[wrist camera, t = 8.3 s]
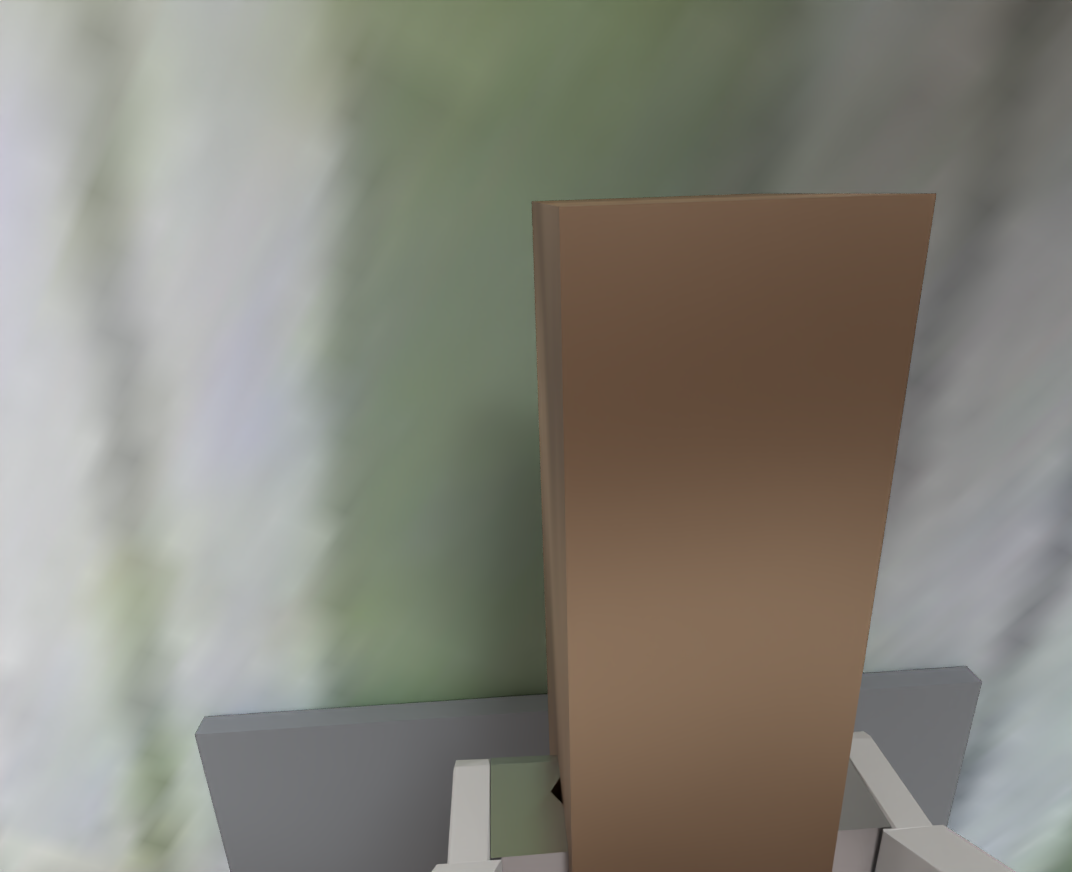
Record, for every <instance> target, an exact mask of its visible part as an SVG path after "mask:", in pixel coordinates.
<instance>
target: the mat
mask: <svg viewBox="0 0 1072 872" xmlns="http://www.w3.org/2000/svg"><path fill="white" fill-rule="evenodd" d="M981 684H982V681H981V680H980V679H979V678H978V677H977V676H976V675H975V674H974V673H973V672H972V671H971V670H970V669H969V668H968V667H967V666H965V667H950V668H934V669H919V670H904V671H889V672H874V673H862V680H861V686H860V693H859V699H858V706H857V712H856V719H855V725H854V732H860V731H864V732H865V733H867V734H868V735H870V736H871V737H872V739H873V740H874V742H875V743H876V745H877V746H878V748H879V749H880V750H881V752H882V753H883V755H884V756H885V758H886V759H887V760H888V762H889V763H890V765H891V766H892V768H893V769H894V770H895V772H896V773H897V775H898V776H899V778H900V779H901V781H902V782H903V783H904V785H905V786H906V788H907V789H908V791H909V792H910V793H911V795H912V796H913V798H914V799H915V801H916V802H917V803H918V805H919V806H920V808H921V809H922V811H923V812H924V814H925V815H926V816H927V818H928V819H929V821H930V822H931V824H932V825H944V826H946V827H947V823H948V819H949V815H950V811H951V807H952V803H953V799H954V795H955V790H956V786H957V782H958V778H959V774H960V770H961V766H962V762H963V758H964V754H965V749H966V745H967V741H968V737H969V733H970V729H971V725H972V721H973V717H974V713H975V708H976V704H977V700H978V696H979V692H980V688H981ZM195 737H196V741H197V745H198V749H199V753H200V757H201V760H202V764H203V768H204V772H205V776H206V780H207V783H208V787H209V791H210V795H211V799H212V803H213V806H214V810H215V814H216V818H217V822H218V826H219V830H220V833H221V837H222V841H223V845H224V849H225V853H226V856H227V860H228V864H229V868H230V872H432V870H433V869H434V867H435V866H436V865H437V864H447V861H448V845H449V830H450V815H451V800H452V785H453V770H454V766H455V763H456V760H471V759H490V760H491V758H499V757H521V756H543V755H550V748H549V717H548V694H541V695H526V696H511V697H496V698H480V699H465V700H450V701H435V702H420V703H405V704H390V705H374V706H359V707H344V708H329V709H314V710H299V711H284V712H268V713H253V714H238V715H223V716H208V717H204V718H203V720H202V722H201V724H200V726H199V728H198V730H197V731H196V733H195Z"/></svg>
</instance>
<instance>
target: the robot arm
mask: <svg viewBox="0 0 1072 872" xmlns="http://www.w3.org/2000/svg"><path fill="white" fill-rule="evenodd" d="M432 872H569V851H568V842H567V833H566V824H565V816H564V807H563V804H562V803H561V790H560V772H559V763H558V757H557V755H543V756H521V757H499V758H491V760H490V759H471V760H456V763H455V766H454V770H453V785H452V800H451V815H450V830H449V845H448V861H447V864H437V865H436V866H435V867H434V869H433V870H432ZM832 872H1016V871H1014V870H1012V869H1011V868H1009V867H1008V866H1006V865H1005V864H1003V863H1002V862H1000V861H999V860H997V859H995V858H994V857H992V856H991V855H989V854H988V853H986V852H985V851H983V850H981V849H980V848H978V847H977V846H975V845H974V844H972V843H971V842H969V841H968V840H966V839H964V838H963V837H961V836H960V835H958V834H957V833H955V832H954V831H952V830H950V829H949V828H947V827H946V826H944V825H932V824H931V822H930V821H929V819H928V818H927V816H926V815H925V814H924V812H923V811H922V809H921V808H920V806H919V805H918V803H917V802H916V801H915V799H914V798H913V796H912V795H911V793H910V792H909V791H908V789H907V788H906V786H905V785H904V783H903V782H902V781H901V779H900V778H899V776H898V775H897V773H896V772H895V770H894V769H893V768H892V766H891V765H890V763H889V762H888V760H887V759H886V758H885V756H884V755H883V753H882V752H881V750H880V749H879V748H878V746H877V745H876V743H875V742H874V740H873V739H872V737H871V736H870V735H868V734H867V733H865V732H864V731H860V732H853V738H852V745H851V751H850V758H849V764H848V771H847V777H846V784H845V790H844V796H843V803H842V809H841V816H840V822H839V829H838V835H837V842H836V848H835V855H834V861H833V868H832Z"/></svg>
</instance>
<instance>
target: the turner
mask: <svg viewBox="0 0 1072 872" xmlns="http://www.w3.org/2000/svg"><path fill="white" fill-rule="evenodd" d="M935 200H936V194H731V195H702V196H674V197H645V198H616V199H587V200H559V201H532V226H533V256H534V287H535V318H536V349H537V379H538V410H539V441H540V472H541V502H542V533H543V564H544V595H545V625H546V656H547V687H548V717H549V748H550V755H557V757H558V763H559V772H560V790H561V803H562V804H563V807H564V816H565V824H566V833H567V842H568V851H569V872H832V868H833V861H834V855H835V848H836V842H837V835H838V829H839V822H840V816H841V809H842V803H843V796H844V790H845V784H846V777H847V771H848V764H849V758H850V751H851V745H852V738H853V732H854V725H855V719H856V712H857V706H858V699H859V693H860V686H861V680H862V673H863V667H864V660H865V654H866V647H867V641H868V634H869V628H870V621H871V615H872V608H873V602H874V595H875V589H876V582H877V576H878V569H879V563H880V556H881V550H882V543H883V537H884V530H885V524H886V518H887V511H888V505H889V498H890V492H891V485H892V479H893V472H894V466H895V459H896V453H897V446H898V440H899V433H900V427H901V420H902V414H903V407H904V401H905V394H906V388H907V381H908V375H909V368H910V362H911V355H912V349H913V342H914V336H915V329H916V323H917V316H918V310H919V303H920V297H921V290H922V284H923V277H924V271H925V264H926V258H927V252H928V245H929V239H930V232H931V226H932V219H933V213H934V206H935Z"/></svg>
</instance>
